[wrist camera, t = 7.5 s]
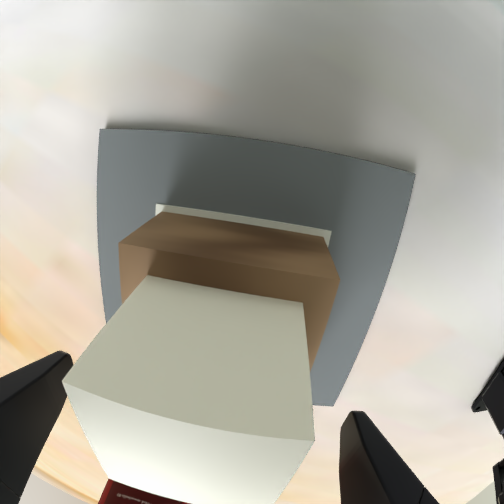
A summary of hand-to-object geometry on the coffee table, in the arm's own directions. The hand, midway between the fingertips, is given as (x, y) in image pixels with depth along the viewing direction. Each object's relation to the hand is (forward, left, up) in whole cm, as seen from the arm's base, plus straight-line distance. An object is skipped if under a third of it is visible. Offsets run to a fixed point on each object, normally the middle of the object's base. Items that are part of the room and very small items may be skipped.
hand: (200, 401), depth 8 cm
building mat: (0, 0, -7) cm, 7 cm away
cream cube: (0, 0, -2) cm, 2 cm away
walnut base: (0, 0, -6) cm, 6 cm away
